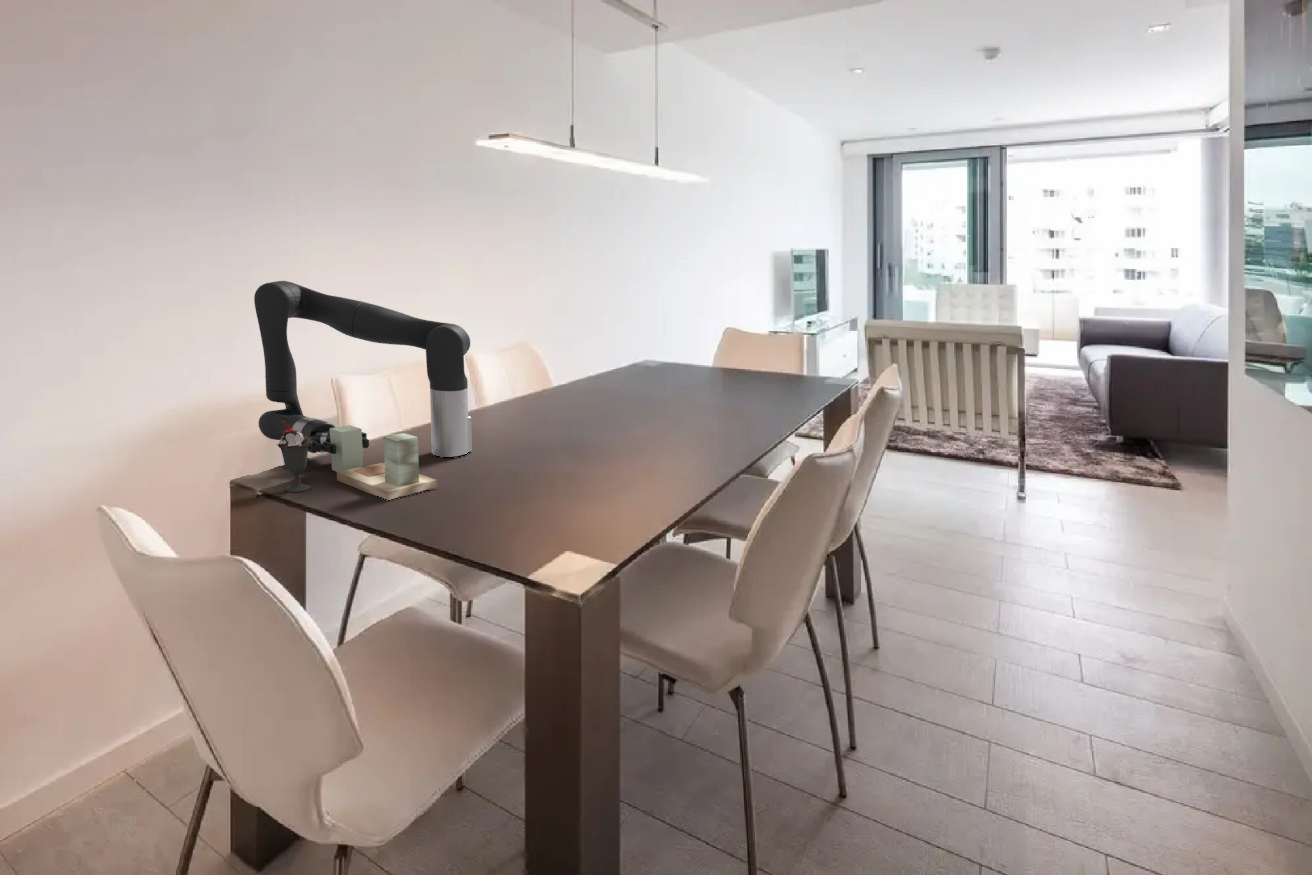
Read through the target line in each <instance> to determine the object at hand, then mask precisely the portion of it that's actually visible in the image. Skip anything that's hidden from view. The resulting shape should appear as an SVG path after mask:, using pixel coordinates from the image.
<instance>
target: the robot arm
mask: <svg viewBox="0 0 1312 875" xmlns="http://www.w3.org/2000/svg"><path fill="white" fill-rule="evenodd" d="M255 290H256V291H255V293H254V297H253V301H254V309H255V315H256V319H257V323H258V328H259V332H260V339H261V344H262V350H263V357H264V369H265V370H264V372H265V373H264V374H265V376H264V377H265V395H266V398H267V399H268V401H271V402H273V403H281V404H284V406H285V408H283V409H276V410H269V411H265V412H263V413H262V414H261V415H260V417H259V419H258V428H259V430H260V432H261V434H262V435H263V436H265V437H266V438H267V439H270V440H274V441H280V440H281V438H282V437H283V436H284V434H283V431H285V430H286V427H287V430H288V429H289V427H290V428H292V429H294V430H295V431H299V432H300V433H302V434H303V437H304V438H305V437H306V436H307V435H308V434H309V437H308V440H310V441H311V442H312V445H311V446H309V448H308V453H312V454H316V453H323V454H324V453H328V454H336V445H335V444H332V443H330V428H335V427H336V426H335V425H334V424H333V423H332V422H328V421H326V420H322V419H319V418H315V417H309V416H305V415H304V414H303V410H302V407H301V404H300V401H299V398H298V397H299V395H298V390H297V389H298V388H297V386H298V385H297V384H298V382H297V380H298V379H297V368H296V364H295V360H294V357H293V354H292V352H291V348H290V346H289V341H288V323H289V319H291V318H293V319H294V318H295V319H303V320H309V321H313V322H316V323H317V322H318V323H322V324H324V325H327V326H329V327H330V328H332V329H334V330H336V331H337V332H340V333H341V334H343V335H345V336H349V337H351V338H354V339H359V340H363V341H366V342H370V343H375V344H384V345H393V346H394V345H395V346H396V345H398V346H409V347H414V348H419V349H423V350H425V359H426V360H425V361H426V374H427V379H428V382H429V396H430V398H429V399H430V402H429V403H430V404H429V405H430V438H431V440H430V441H431V442H430V444H431V455H432V454H433V455H432V456H434V455H436V456H440V457H439V458H443V457H453V456H459V455H463V454H467V453H468V452H469V451H472V450H473V447H472V446H473V445H472V444H473V442H472V441H473V440H472V435H473V434H472V417H471V416H470V415H469V402H468V399H469V397H468V393H469V392H468V390H469V389H468V385H469V384H468V377H467V375H466V373H465V355H466V354H467V353H468V352H469V349H470V347H471V338H470V336H469V334H468V333H467V331H466V330H465V329H464V328H463V327H461V326H460V325H457V324H455V323H448V322H441V321H433V320H428V319H422V318H419V317H415V316H411V315H409V314H406V313H404V312H401V311H397V310H394V309H390V308H387V307H384V306H381V305H377V304H373V303H370V302H365V301H361V300H356V299H352V298H347V297H342V296H336V295H330V294H325V293H322V292H319V291H317V290H314V289H310V288H307V287H305V286H303V285H300V284H297V283H295V282H292V281H287V280H277V281H271V282H266V283H263V284H261V285H259V286H258V288H257V289H255ZM281 421H284V422H285V423H286V424H287V425H288V426H289V427H288V426H287V425H286V424H285V423H284V424H285V425H286V426H285V425H284V424H283V423H281ZM367 434H368V433H367V432H366V433H365V432H363V431H362V448H363V449H368V448H369V446H370V440H369V439H368V438H367ZM472 452H473V451H472ZM468 454H469V453H468ZM468 454H467V455H468ZM436 456H435V457H436Z"/></svg>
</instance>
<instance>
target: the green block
mask: <svg viewBox="0 0 1312 875" xmlns="http://www.w3.org/2000/svg"><path fill="white" fill-rule="evenodd" d="M362 430H363V429H362V428H360V427H357V426H354V425H349V424H348V425H343V426H337V427H336V426H335V428H330V443H332V444H335V445H336V454H331V453H330V454H331V455H330V456H331V470H332V471H334V472H336V473H337V472H339V471H343V470H348V469H353V468H358V467H363V466H364V455H363V454H364V453H363V452H364V450H363V449H364V448H362V432H363V431H362Z"/></svg>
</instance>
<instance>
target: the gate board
mask: <svg viewBox="0 0 1312 875" xmlns="http://www.w3.org/2000/svg"><path fill="white" fill-rule="evenodd" d="M383 452H384V453H383V457H384V458H383V460H384V461H382V462H379V463H373V464H369V465H365V466H364V465H363V467H358V468H353V469H348V470H343V471H339V472H336V481H338V482H340V483H343V484H346V485H348V486H351V487H353V488H356V489H358V490H360V491H363V492H365V493H368V494H370V495H373V496H376V497H377V496H379V497H378V498H380V497H382V498H381V499H383V498H384V499H383V500H385V499H387V500H386V501H388V500H390V501H392V500H391V499H394V498H397V497H399V496H406V495H409V494H411V493H414V492H420V491H423V490H426V489H429V488H434V487H437V488H438V479H436V478H432V477H430V476H426V475H425V474H422V473H420V467H419V437H418V436H416V435H415V436H414V435H412V434H408V433H405V432H403V433H396V434H391V435H386V436H383ZM406 497H407V496H406ZM394 500H395V499H394Z"/></svg>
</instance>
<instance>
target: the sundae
mask: <svg viewBox="0 0 1312 875" xmlns="http://www.w3.org/2000/svg"><path fill="white" fill-rule="evenodd" d="M281 423H283V424H284V423H285V422H284V421H281ZM285 424H286V423H285ZM285 424H284V425H285ZM286 425H287V424H286ZM286 425H285V426H286ZM287 426H288V425H287ZM288 427H289V426H288ZM283 434H284V436H283V437H282V438H281V440H279V441H278V443H277V444H276V446H278V448H280V451H281V454H282V460H283V464H284V465H285V466H284V467H285V469H286V470H287V471H288V472H289V473H291V474H292V475H293V482H292V484H291V485H289V486H287V487H285V488H286V489H285V488H284V491H285V490H286V491H285V492H287V493H301V492H306V491H309V490H310V489H311V486H310V485H308V484H303V483H302V482H301V473H303V471H305V470H306V468H307V465H308V454H309V452H308V448H309V446H311V445H312V442H311V441H310V440H308V437H309V434H308V435H307V436H306V437H305V438H304V437H303V434H302V433H300V432H299V431H295V430H294V429H292V428H290V427H289V429H288V430H287V427H286V430H285V431H283Z"/></svg>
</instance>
